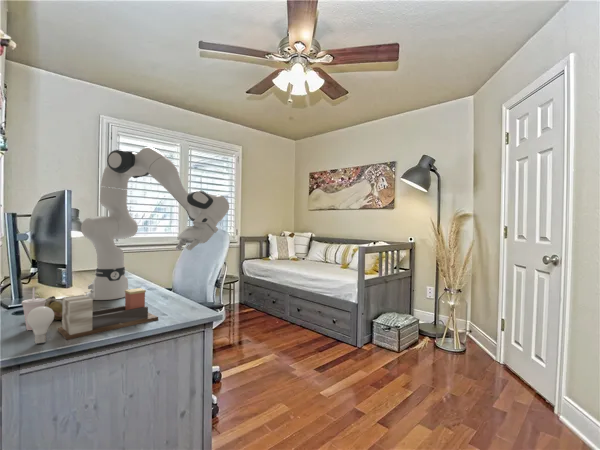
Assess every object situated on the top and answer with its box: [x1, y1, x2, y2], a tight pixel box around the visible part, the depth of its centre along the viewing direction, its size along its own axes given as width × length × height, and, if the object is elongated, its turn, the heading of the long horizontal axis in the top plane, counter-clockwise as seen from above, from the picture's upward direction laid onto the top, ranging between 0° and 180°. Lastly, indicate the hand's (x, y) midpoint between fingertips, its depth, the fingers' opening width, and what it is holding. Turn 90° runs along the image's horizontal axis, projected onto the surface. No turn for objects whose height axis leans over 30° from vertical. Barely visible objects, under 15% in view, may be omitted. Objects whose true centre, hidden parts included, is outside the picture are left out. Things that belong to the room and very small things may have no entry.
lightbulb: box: [27, 306, 55, 345], centre depth 93 cm, size 6×6×11 cm
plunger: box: [124, 287, 147, 310], centre depth 117 cm, size 5×5×10 cm
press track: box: [57, 294, 159, 341], centre depth 111 cm, size 12×28×11 cm, turn 138°
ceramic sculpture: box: [45, 295, 63, 321], centre depth 117 cm, size 11×9×15 cm
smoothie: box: [21, 287, 47, 331], centre depth 106 cm, size 6×6×14 cm
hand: (182, 249), depth 130 cm, fingers open, 8 cm apart
